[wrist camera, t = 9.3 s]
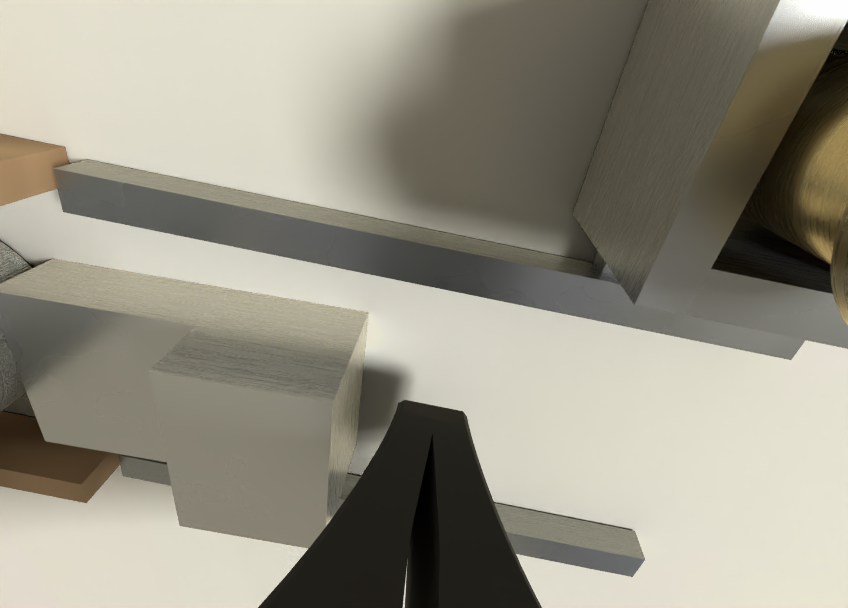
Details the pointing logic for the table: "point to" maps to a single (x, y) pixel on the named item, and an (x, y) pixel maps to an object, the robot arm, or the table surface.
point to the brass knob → (812, 178)
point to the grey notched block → (196, 389)
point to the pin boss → (711, 164)
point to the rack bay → (21, 435)
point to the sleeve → (411, 262)
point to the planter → (3, 377)
